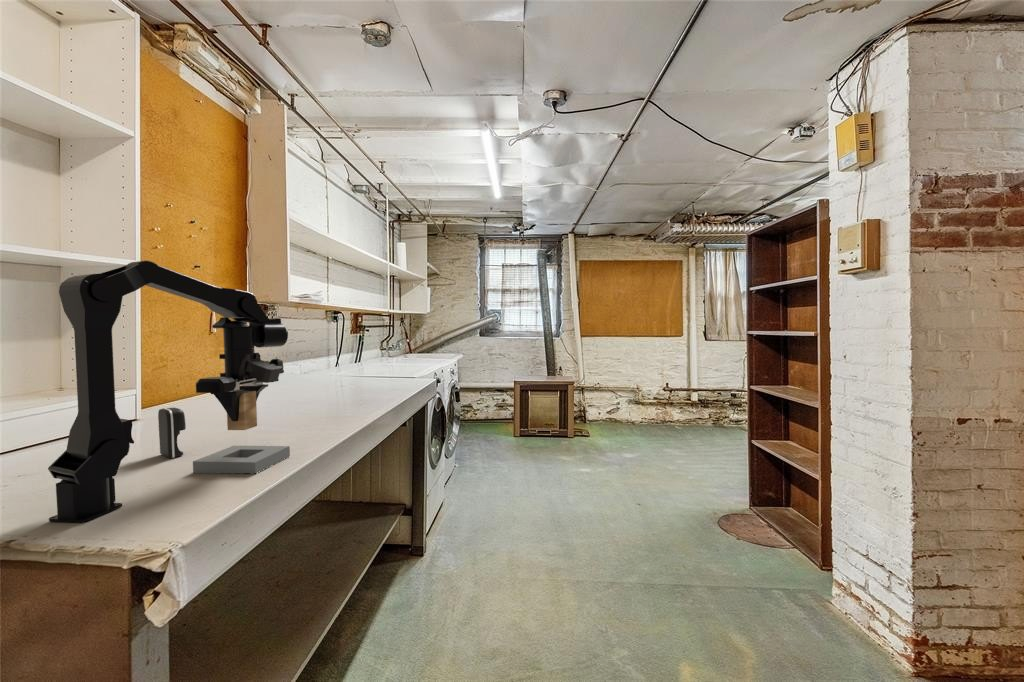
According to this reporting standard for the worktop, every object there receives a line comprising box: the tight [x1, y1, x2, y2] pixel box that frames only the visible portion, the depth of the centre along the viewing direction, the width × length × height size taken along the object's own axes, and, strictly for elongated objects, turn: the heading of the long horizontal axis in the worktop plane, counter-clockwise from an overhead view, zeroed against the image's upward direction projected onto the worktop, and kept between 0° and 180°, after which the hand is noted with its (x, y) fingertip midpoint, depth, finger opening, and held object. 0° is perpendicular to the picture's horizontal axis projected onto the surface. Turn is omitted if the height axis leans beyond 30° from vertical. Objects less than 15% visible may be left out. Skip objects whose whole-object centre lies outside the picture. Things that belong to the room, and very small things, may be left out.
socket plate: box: [192, 445, 291, 474], centre depth 98 cm, size 12×14×2 cm
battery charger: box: [157, 407, 187, 459], centre depth 106 cm, size 7×4×11 cm, turn 54°
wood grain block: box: [226, 391, 258, 431], centre depth 98 cm, size 4×4×8 cm
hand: (242, 419), depth 98 cm, fingers closed on wood grain block, 4 cm apart
